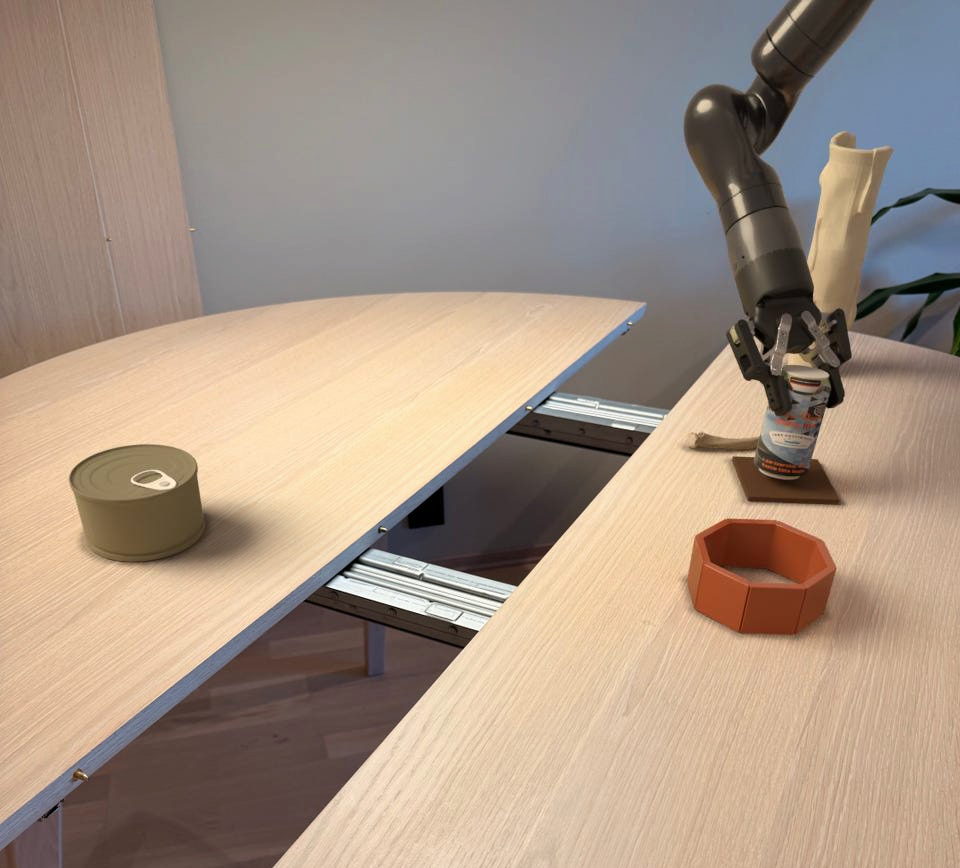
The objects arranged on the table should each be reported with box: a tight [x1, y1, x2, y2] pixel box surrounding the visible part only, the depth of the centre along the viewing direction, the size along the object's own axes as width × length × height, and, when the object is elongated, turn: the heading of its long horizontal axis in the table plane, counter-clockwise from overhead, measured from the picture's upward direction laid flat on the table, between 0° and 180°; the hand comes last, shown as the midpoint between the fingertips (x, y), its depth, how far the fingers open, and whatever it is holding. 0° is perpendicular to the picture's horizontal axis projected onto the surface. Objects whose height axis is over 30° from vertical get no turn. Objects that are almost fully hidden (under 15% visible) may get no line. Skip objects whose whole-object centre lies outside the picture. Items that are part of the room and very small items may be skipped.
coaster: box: [731, 455, 841, 505], centre depth 111 cm, size 10×10×1 cm
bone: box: [685, 431, 760, 450], centre depth 118 cm, size 3×11×2 cm, turn 99°
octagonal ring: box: [686, 518, 838, 636], centre depth 91 cm, size 12×12×5 cm
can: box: [68, 443, 206, 563], centre depth 97 cm, size 12×12×7 cm
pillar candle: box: [787, 130, 894, 367], centre depth 132 cm, size 9×8×30 cm
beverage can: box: [753, 364, 831, 480], centre depth 107 cm, size 6×7×12 cm
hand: (810, 408), depth 105 cm, fingers closed on beverage can, 6 cm apart
